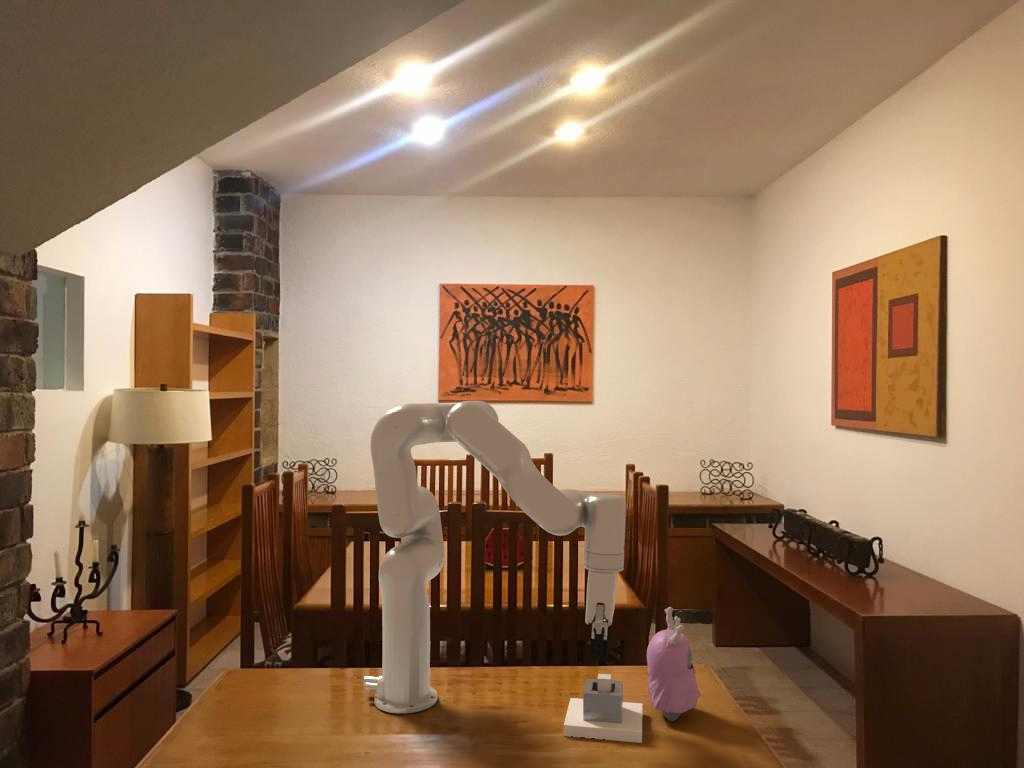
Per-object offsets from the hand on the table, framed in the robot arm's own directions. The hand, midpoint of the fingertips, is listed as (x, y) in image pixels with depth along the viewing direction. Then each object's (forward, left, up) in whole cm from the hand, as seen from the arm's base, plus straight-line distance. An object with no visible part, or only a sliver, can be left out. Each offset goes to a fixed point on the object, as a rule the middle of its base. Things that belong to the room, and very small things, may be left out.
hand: (600, 650), depth 138 cm
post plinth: (+1, 0, -14) cm, 14 cm away
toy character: (+14, +7, -14) cm, 21 cm away
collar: (+1, 0, -12) cm, 12 cm away
